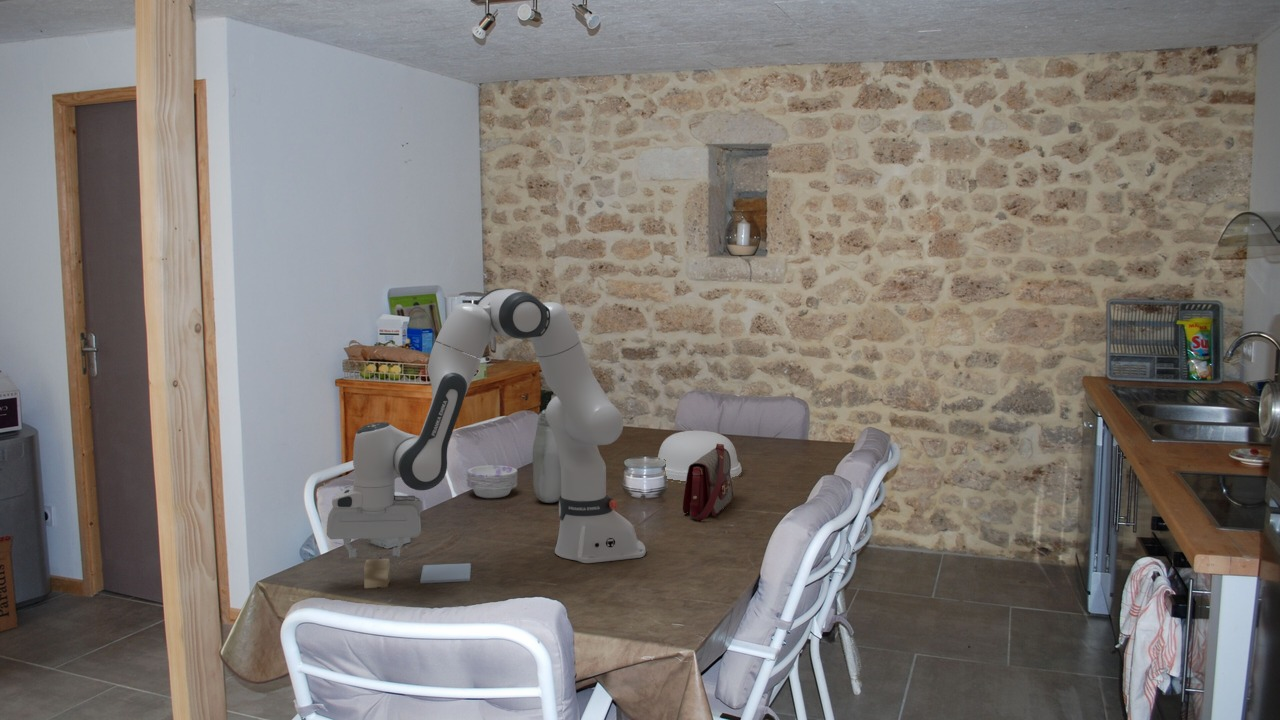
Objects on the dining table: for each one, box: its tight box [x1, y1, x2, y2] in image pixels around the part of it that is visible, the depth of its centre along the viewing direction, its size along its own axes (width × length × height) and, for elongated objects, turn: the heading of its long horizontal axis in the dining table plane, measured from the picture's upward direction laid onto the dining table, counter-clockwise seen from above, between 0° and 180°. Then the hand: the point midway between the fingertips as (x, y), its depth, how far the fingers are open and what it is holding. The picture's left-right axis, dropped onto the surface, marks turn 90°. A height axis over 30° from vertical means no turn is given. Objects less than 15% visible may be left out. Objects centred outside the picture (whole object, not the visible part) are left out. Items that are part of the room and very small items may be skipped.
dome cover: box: [657, 430, 742, 481], centre depth 332 cm, size 32×30×14 cm
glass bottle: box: [532, 408, 561, 504], centre depth 292 cm, size 10×10×28 cm
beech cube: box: [363, 558, 391, 589], centre depth 221 cm, size 5×5×5 cm
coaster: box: [419, 562, 472, 584], centre depth 228 cm, size 11×11×1 cm
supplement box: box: [370, 491, 411, 550], centre depth 251 cm, size 7×7×13 cm
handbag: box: [682, 444, 734, 521], centre depth 284 cm, size 28×11×17 cm, turn 160°
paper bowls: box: [466, 464, 518, 499], centre depth 301 cm, size 15×15×8 cm
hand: (374, 556), depth 220 cm, fingers open, 8 cm apart
